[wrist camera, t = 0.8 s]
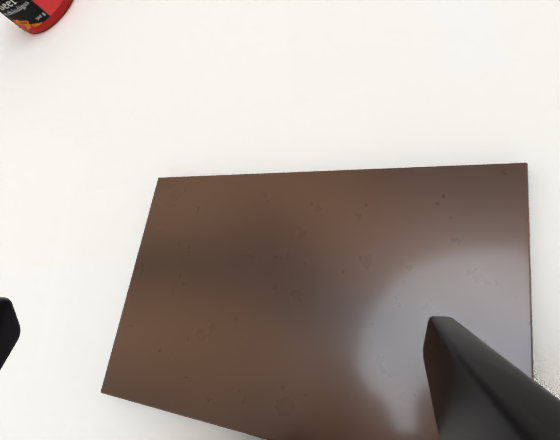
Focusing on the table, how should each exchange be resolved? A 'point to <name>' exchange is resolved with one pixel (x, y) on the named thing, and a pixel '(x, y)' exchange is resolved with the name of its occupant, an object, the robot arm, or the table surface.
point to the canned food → (34, 13)
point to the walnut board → (320, 295)
